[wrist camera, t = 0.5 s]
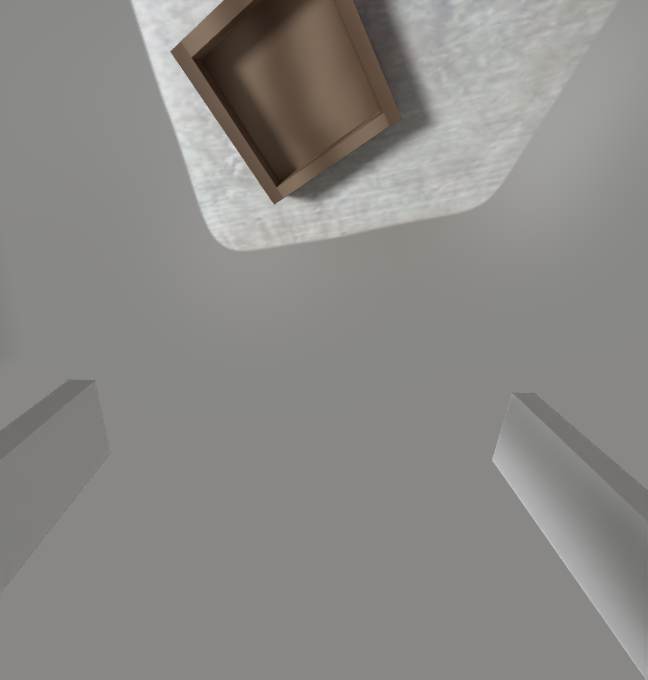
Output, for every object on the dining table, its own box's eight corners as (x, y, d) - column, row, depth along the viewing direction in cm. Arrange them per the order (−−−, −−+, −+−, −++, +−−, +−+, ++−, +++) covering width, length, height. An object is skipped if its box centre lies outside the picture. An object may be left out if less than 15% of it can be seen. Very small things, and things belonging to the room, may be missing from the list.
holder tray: (317, -67, 23) (316, -89, 20) (393, 115, 29) (401, 117, 26) (186, 55, 27) (170, 51, 24) (278, 194, 33) (274, 204, 30)
